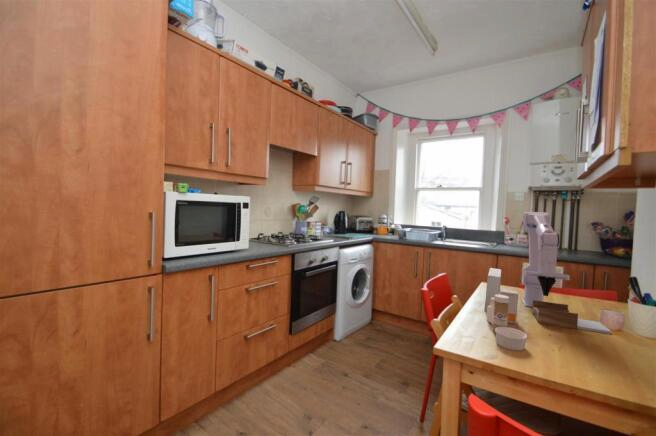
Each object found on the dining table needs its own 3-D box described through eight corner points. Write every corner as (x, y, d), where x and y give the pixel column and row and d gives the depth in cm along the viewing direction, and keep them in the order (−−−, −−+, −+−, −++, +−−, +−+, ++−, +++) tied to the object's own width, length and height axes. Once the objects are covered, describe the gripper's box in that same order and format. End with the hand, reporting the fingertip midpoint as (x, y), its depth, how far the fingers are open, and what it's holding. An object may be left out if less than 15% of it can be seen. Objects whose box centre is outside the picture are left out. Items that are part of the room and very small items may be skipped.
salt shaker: (493, 320, 116) (494, 296, 116) (502, 324, 112) (503, 299, 112) (485, 321, 115) (487, 297, 114) (494, 325, 111) (495, 300, 111)
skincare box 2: (498, 321, 115) (500, 291, 115) (498, 317, 119) (499, 288, 119) (516, 324, 113) (518, 293, 112) (515, 320, 116) (517, 291, 116)
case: (532, 313, 125) (532, 300, 125) (566, 318, 120) (567, 304, 120) (538, 323, 114) (539, 308, 114) (577, 329, 109) (578, 314, 109)
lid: (567, 321, 119) (568, 317, 119) (599, 325, 115) (599, 322, 115) (576, 330, 110) (576, 326, 110) (611, 335, 106) (611, 331, 106)
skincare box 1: (498, 314, 124) (500, 276, 123) (484, 311, 126) (486, 275, 126) (499, 301, 142) (501, 268, 141) (487, 298, 144) (488, 267, 144)
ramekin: (532, 348, 93) (532, 334, 93) (517, 354, 89) (517, 340, 89) (503, 337, 101) (504, 324, 101) (488, 342, 97) (489, 329, 96)
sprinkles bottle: (493, 334, 103) (495, 296, 102) (492, 329, 107) (493, 293, 106) (508, 336, 101) (510, 298, 100) (506, 331, 105) (508, 295, 105)
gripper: (527, 261, 117) (526, 295, 118) (573, 265, 111) (571, 301, 112) (524, 259, 124) (522, 290, 124) (567, 262, 117) (565, 296, 118)
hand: (545, 295), depth 118 cm, fingers closed
